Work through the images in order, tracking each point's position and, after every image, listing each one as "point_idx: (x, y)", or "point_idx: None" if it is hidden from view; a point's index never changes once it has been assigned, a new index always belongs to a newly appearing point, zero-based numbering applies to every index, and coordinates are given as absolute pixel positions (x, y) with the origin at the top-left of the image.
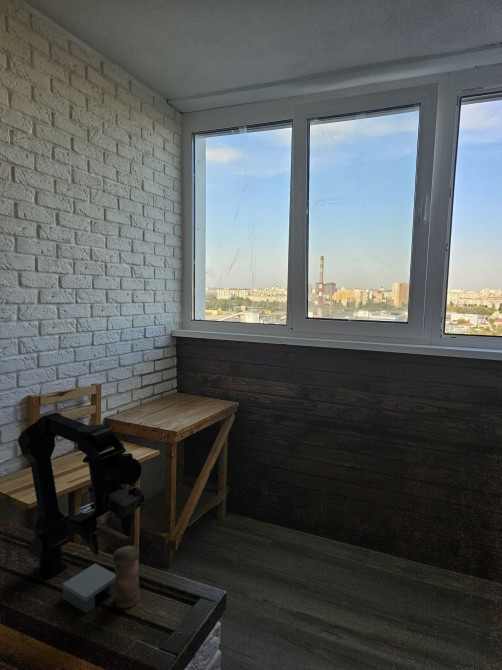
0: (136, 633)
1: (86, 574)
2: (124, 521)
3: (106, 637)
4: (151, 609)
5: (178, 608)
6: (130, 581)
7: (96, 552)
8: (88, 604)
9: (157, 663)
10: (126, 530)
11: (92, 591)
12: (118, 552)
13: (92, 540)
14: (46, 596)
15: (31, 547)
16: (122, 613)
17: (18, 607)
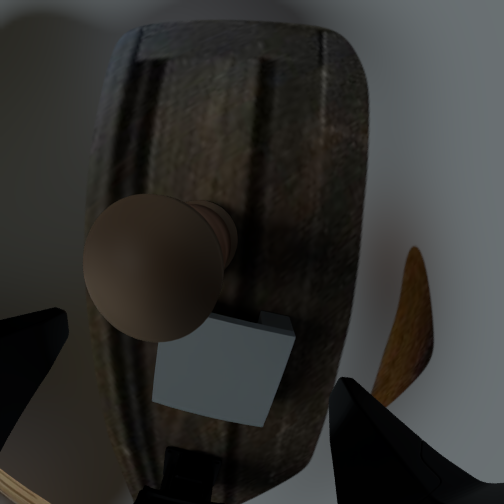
0: (304, 139)
1: (203, 397)
2: (4, 390)
3: (341, 209)
4: (211, 148)
5: (185, 84)
6: (208, 212)
7: (364, 391)
8: (283, 323)
9: (357, 58)
10: (43, 339)
11: (263, 336)
12: (158, 319)
13: (449, 463)
14: (263, 432)
15: None
16: (252, 220)
17: (308, 449)
